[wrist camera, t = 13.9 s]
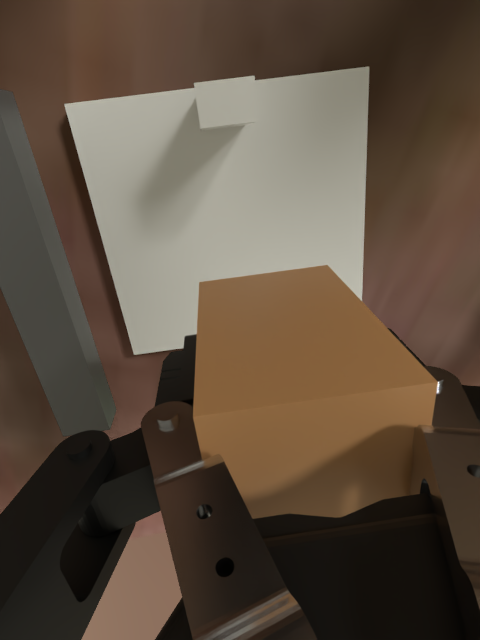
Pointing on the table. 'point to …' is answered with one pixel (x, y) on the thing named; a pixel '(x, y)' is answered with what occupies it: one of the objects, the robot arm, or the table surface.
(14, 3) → the table surface
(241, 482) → the orange block
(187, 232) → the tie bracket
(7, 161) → the strap
